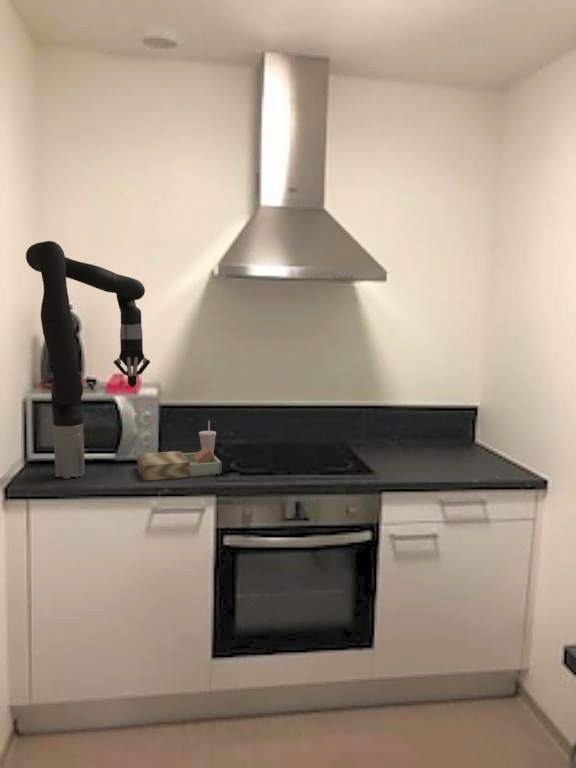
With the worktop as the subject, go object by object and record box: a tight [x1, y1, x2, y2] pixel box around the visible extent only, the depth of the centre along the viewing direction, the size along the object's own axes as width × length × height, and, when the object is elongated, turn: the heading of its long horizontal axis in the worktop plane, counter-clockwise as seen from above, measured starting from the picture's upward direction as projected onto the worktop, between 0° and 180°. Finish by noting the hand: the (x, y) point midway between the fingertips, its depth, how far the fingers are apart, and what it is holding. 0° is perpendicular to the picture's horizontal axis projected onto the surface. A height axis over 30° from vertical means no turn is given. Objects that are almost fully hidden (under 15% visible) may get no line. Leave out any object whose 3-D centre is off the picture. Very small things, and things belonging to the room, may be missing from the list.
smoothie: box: [198, 420, 217, 454], centre depth 236 cm, size 6×6×14 cm
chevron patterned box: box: [136, 450, 191, 482], centre depth 217 cm, size 15×16×5 cm
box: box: [182, 451, 223, 478], centre depth 222 cm, size 10×16×4 cm, turn 20°
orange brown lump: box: [193, 447, 216, 464], centre depth 224 cm, size 6×6×3 cm
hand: (132, 386), depth 228 cm, fingers closed
